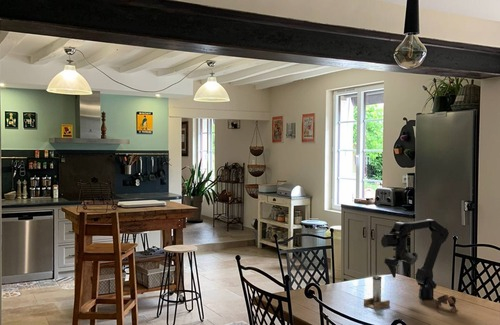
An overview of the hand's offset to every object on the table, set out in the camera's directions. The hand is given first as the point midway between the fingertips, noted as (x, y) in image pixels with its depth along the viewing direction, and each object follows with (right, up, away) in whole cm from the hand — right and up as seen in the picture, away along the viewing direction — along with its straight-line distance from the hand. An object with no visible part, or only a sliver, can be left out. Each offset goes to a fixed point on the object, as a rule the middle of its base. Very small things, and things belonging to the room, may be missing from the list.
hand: (400, 276), depth 259 cm
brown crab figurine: (+20, -14, -12) cm, 27 cm away
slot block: (-14, -13, -8) cm, 21 cm away
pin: (-14, -12, -8) cm, 21 cm away
